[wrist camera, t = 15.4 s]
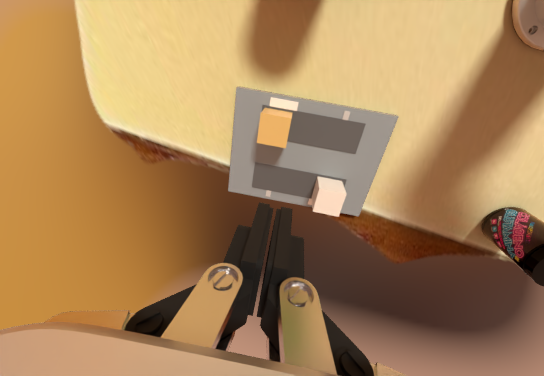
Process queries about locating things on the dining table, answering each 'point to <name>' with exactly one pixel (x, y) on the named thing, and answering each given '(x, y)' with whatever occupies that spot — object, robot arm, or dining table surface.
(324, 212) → the pale pink cube
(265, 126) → the orange cube
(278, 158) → the switch board
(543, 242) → the supplement container
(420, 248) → the dining table surface
